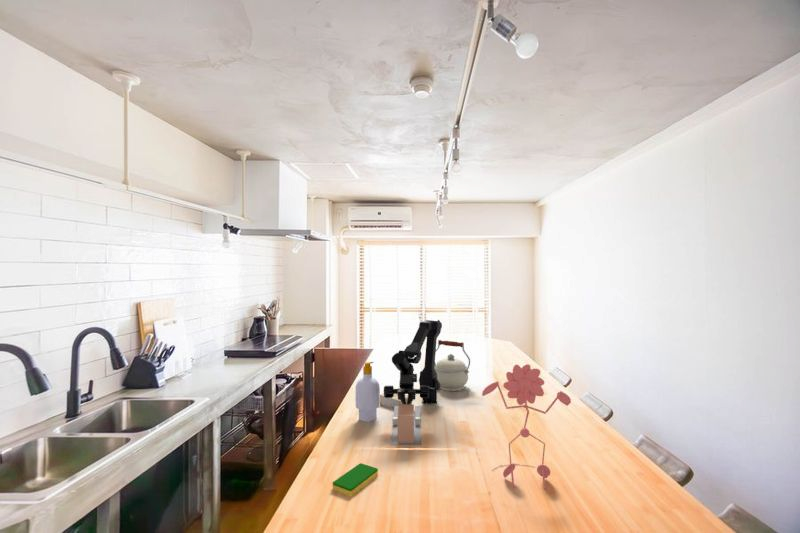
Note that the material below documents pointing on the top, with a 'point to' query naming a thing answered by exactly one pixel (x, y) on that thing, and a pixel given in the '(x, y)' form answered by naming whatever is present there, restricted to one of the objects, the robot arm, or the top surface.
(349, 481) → the dish sponge
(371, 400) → the soap bottle
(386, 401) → the supplement box
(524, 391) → the figurine
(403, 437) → the block
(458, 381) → the kettle
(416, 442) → the chute
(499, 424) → the top surface
